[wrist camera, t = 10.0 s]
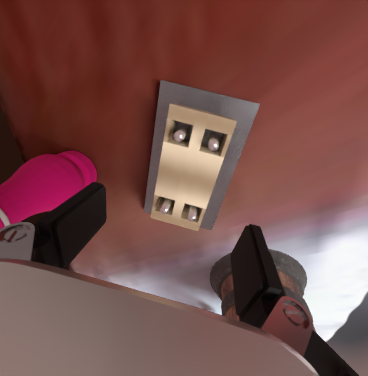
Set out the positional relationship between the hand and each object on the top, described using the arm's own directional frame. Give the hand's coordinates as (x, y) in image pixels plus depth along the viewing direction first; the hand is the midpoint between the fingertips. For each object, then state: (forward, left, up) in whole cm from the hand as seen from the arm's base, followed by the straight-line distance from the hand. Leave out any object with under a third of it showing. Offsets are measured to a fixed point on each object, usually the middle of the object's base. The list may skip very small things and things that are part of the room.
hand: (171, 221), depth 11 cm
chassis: (+1, 0, -13) cm, 13 cm away
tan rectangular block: (+1, 0, -12) cm, 12 cm away
